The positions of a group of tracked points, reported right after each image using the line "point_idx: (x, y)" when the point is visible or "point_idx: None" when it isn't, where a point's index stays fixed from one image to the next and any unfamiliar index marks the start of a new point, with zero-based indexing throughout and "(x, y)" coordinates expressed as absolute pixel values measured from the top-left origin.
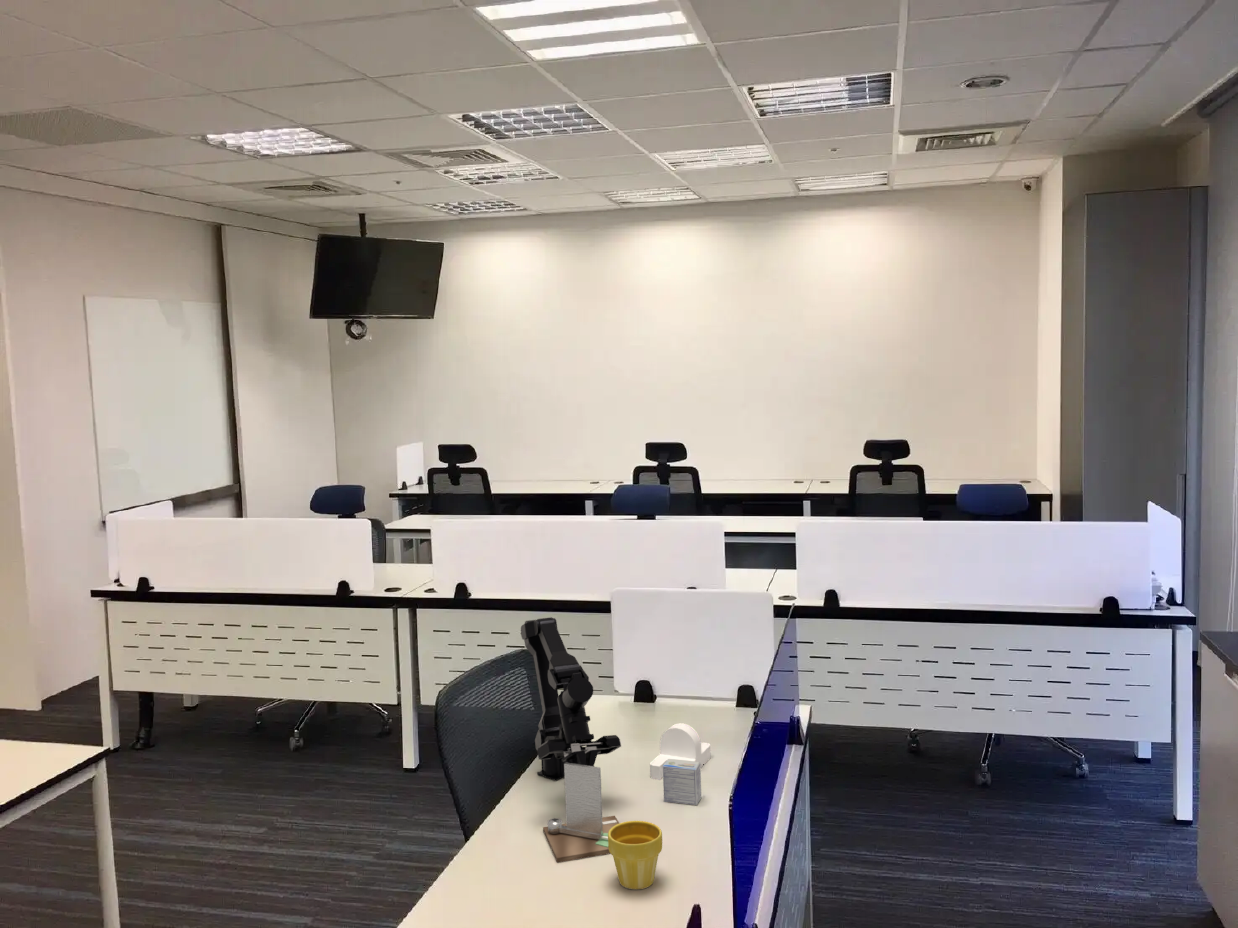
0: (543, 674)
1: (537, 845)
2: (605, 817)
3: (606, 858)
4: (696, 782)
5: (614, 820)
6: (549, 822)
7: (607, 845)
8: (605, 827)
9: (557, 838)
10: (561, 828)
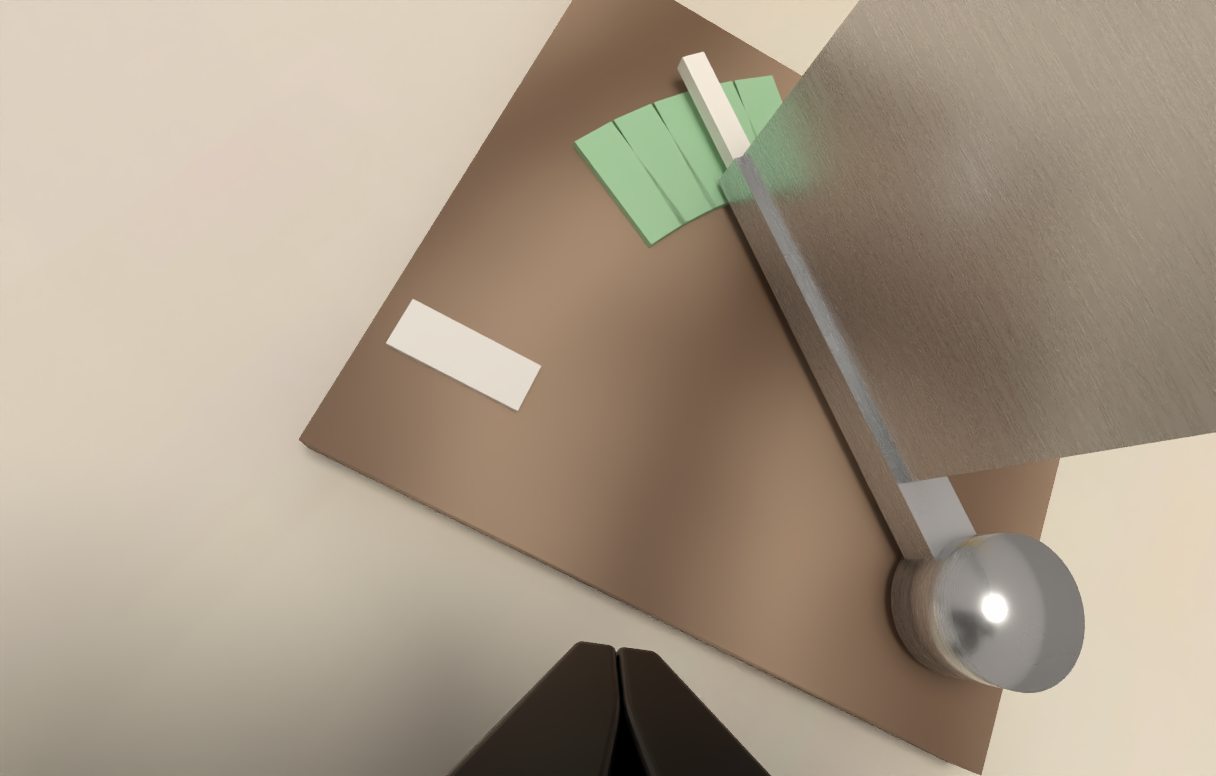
0: None
1: (1081, 580)
2: (404, 479)
3: (807, 61)
4: None
5: (404, 340)
6: (1068, 631)
7: (760, 88)
8: (557, 322)
9: (982, 485)
10: (961, 513)
